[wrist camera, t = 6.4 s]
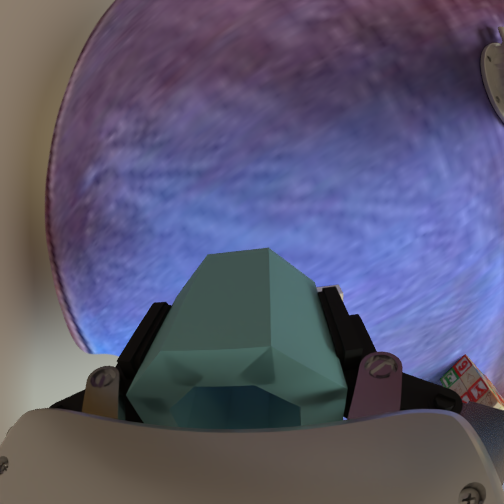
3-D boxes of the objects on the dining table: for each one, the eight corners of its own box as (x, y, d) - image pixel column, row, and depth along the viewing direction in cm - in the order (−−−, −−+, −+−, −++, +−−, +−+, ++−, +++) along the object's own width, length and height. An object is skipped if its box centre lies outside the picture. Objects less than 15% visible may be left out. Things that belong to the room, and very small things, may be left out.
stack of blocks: (493, 383, 37) (517, 420, 26) (473, 403, 39) (494, 441, 28) (464, 353, 34) (499, 402, 22) (438, 379, 36) (466, 431, 24)
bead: (168, 259, 12) (100, 348, 6) (312, 242, 11) (353, 335, 6) (199, 364, 14) (172, 462, 8) (316, 356, 13) (335, 459, 8)
